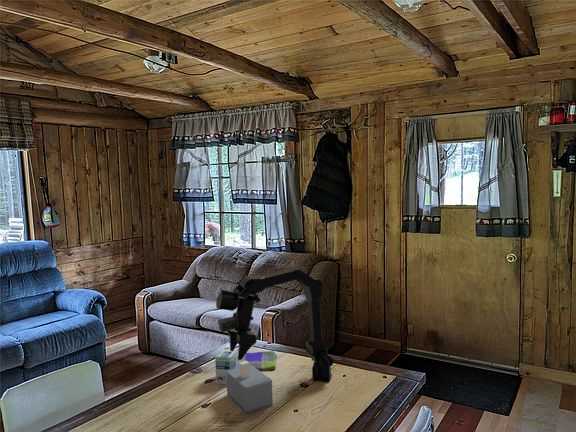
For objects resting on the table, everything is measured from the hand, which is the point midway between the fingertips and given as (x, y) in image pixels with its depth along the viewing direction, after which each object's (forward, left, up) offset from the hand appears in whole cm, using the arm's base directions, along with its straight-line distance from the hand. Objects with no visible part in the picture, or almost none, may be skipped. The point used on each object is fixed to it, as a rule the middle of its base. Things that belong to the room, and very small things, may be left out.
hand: (235, 355), depth 162 cm
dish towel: (+8, -30, -16) cm, 35 cm away
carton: (-5, +1, -15) cm, 16 cm away
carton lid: (-5, +1, -7) cm, 9 cm away
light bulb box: (+10, -14, -16) cm, 23 cm away
